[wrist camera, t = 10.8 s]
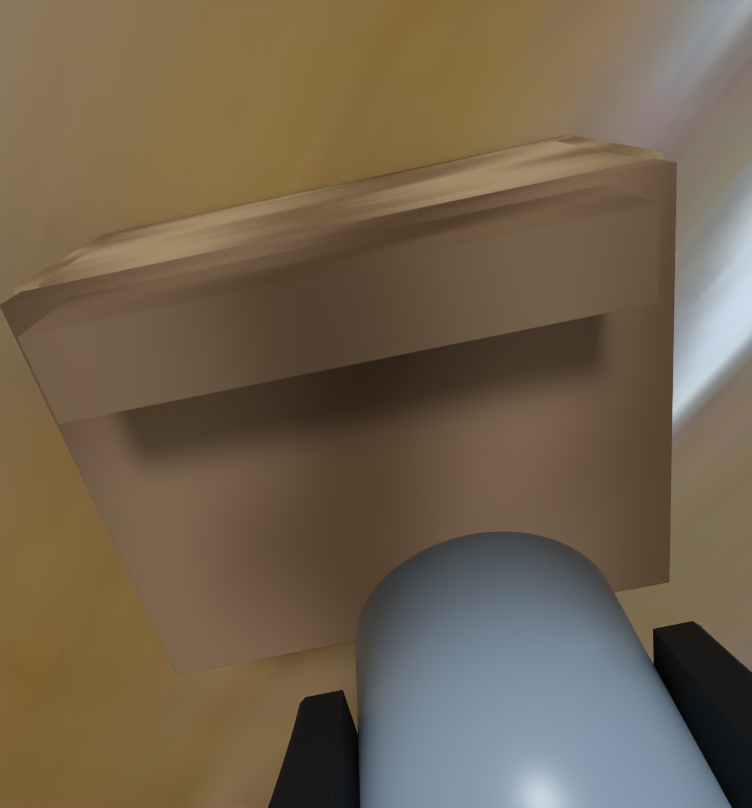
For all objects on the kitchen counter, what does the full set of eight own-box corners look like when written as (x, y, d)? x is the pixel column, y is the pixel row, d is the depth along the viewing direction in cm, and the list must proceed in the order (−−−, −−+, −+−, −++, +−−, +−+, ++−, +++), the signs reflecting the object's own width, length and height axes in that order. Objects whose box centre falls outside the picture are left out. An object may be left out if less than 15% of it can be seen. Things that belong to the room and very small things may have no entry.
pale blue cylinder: (658, 551, 11) (888, 883, 6) (566, 736, 13) (690, 1088, 8) (386, 513, 10) (423, 851, 6) (334, 713, 12) (330, 1081, 8)
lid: (653, 158, 11) (748, 177, 8) (653, 558, 15) (717, 653, 12) (20, 291, 11) (-69, 348, 9) (184, 647, 15) (154, 756, 13)
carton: (569, 135, 16) (663, 152, 11) (586, 444, 20) (659, 547, 15) (102, 235, 16) (11, 289, 12) (210, 517, 20) (174, 639, 16)
